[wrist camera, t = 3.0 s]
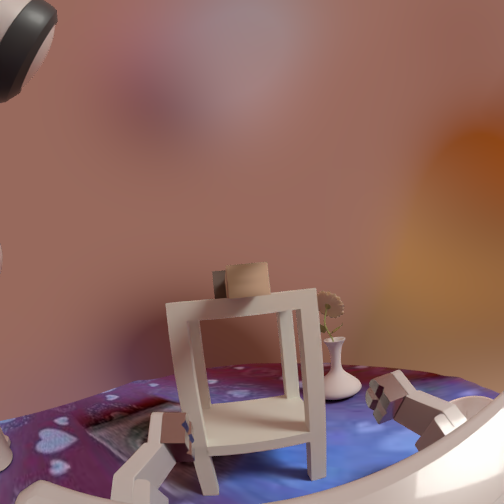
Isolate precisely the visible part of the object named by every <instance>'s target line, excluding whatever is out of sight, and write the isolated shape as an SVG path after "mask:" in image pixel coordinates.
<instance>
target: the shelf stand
mask: <svg viewBox="0 0 504 504" xmlns="http://www.w3.org/2000/svg"><path fill="white" fill-rule="evenodd" d="M292 310H296V317H297V326H298V335H299V346H300V347H299V348H300V358H301V371H302V383H303V397H304V402H303V400H302V399H301V398H300V396H299V383H298V371H297V359H296V348H295V338H294V328H293V318H292ZM166 312H167V321H168V329H169V337H170V345H171V352H172V359H173V366H174V372H175V378H176V384H177V389H178V395H179V400H180V405H181V410H182V412H187V413H188V415H189V421H190V422H192V425H193V429H194V442H193V443H192V444H193V447H194V449H195V461H194V465H195V469H196V472H197V476H198V479H199V483H200V486H201V489H202V492H203V496H205V495H219V485H218V481H217V477H216V473H215V469H214V465H213V461H212V456H221V455H233V454H243V453H251V452H259V451H266V450H272V449H278V448H283V447H288V446H293V445H298V444H303V443H306V449H307V474H308V475H309V477H310V479H311V481H314V480H317V479H321V478H325V477H326V413H325V389H324V372H323V358H322V344H321V332H320V321H319V312H318V302H317V293H316V288H312V289H303V290H294V291H284V292H276V293H271V295H262V296H253V297H243V298H233V299H228V298H222V299H209V300H196V301H184V302H174V303H166ZM274 312H276V313H277V323H278V331H279V332H278V333H279V342H280V351H281V362H282V373H283V383H284V394H285V395H282V396H276V397H270V398H263V399H256V400H248V401H240V402H230V403H219V404H211V401H210V395H209V388H208V382H207V375H206V368H205V361H204V354H203V346H202V339H201V330H200V322H199V320H208V319H220V318H230V317H239V316H249V315H258V314H266V313H274Z"/></svg>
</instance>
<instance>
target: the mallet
mask: <svg viewBox="0 0 504 504" xmlns="http://www.w3.org/2000/svg"><path fill="white" fill-rule="evenodd" d="M212 273H213V284H214V294H215V299H222V298H228V299H233V298H243V297H253V296H262V295H271V292H270V283H269V274H268V265H267V262H260V263H251V264H250V263H249V264H239V265H230V266H229V265H228V266H226V270H225V271H214V272H212Z"/></svg>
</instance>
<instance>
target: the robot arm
mask: <svg viewBox="0 0 504 504" xmlns="http://www.w3.org/2000/svg"><path fill="white" fill-rule="evenodd" d="M56 23H57V10H56V9H55V8H54V7H53V6H51V5H50V4H49V3H47V2H46V1H44V0H0V103H2V102H6V101H8V100H9V99H11V98H13V97H14V96H16V95H17V94H19V93H20V91H21V89H22V88H23V87H24V86H25V85H26V84H27V83H28V82H29V80H30V79H31V78H32V77H33V76H34V74H35V73H36V72H37V71H38V69H39V67H40V66H41V64H42V63H43V61H44V59H45V57H46V55H47V53H48V51H49V48H50V46H51V43H52V39H53V35H54V29H55V25H56ZM1 269H2V249H1V244H0V272H1ZM369 385H370V388H369V389H368V390H367V392H366V395H365V397H366V403H367V405H368V407H369V408H370V409H372V410H374V412H373V415H374V417H375V419H376V421H377V422H378V424H381V423H384V422H386V421H389V420H392V419H393V420H395V421H397V422H398V423H400V424H402V425H403V426H405V427H407V428H408V429H410V430H412V431H413V432H415V433H417V434H418V435H420V436H421V437H420V438H419V439H418V440H417V442H416V444H415V446H416V447H417V449H418V451H419V452H417V453H415V454H413V455H411V456H410V457H408V458H406V459H404V460H402V461H400V462H398V463H395V464H393V465H391V466H389V467H387V468H385V469H382V470H380V471H378V472H375V473H373V474H371V475H368V476H366V477H363V478H360V479H358V480H355V481H352V482H349V483H346V484H344V485H340V486H337V487H334V488H331V489H328V490H324V491H321V492H317V493H313V494H309V495H305V496H301V497H297V498H292V499H287V500H282V501H277V502H271V503H264V504H504V391H503V392H502V393H501V394H499V395H498V396H497V397H496V398H495V399H494V400H493V401H491V402H490V403H489V404H488V405H487V406H485V407H484V408H483V409H482V410H481V411H479V412H478V413H477V414H475V415H474V416H473V417H471V418H470V419H469V420H467V419H466V418H465V417H464V415H463V414H462V413H461V412H460V410H459V409H458V408H457V406H456V405H455V404H452V403H450V402H447V401H445V400H442V399H439V398H437V397H434V396H432V395H429V394H427V393H424V392H422V391H420V390H418V391H416V390H415V388H414V387H413V386H412V384H411V383H410V382H409V381H408V379H407V378H406V377H405V375H404V374H403V373H402V372H401V371H400V370H397V371H394V372H391V373H388V374H385V375H382V376H380V377H377V378H374V379H372V380H371V381H370V383H369ZM193 442H194V429H193V425H192V422H190V421H189V415H188V413H187V412H152V414H151V417H150V425H149V433H148V442H147V443H144V444H143V445H142V446H141V447H140V448H139V449H138V450H137V451H136V452H135V453H134V454H133V455H132V456H131V457H130V458H129V460H128V461H127V462H126V463H125V464H124V465H123V466H122V467H121V468H120V469H119V470H118V471H117V472H116V473H115V474H114V476H113V484H112V491H111V500H110V499H105V498H101V497H96V496H92V495H88V494H85V493H81V492H77V491H74V490H71V489H68V488H65V487H62V486H59V485H56V484H53V483H50V482H48V481H44V480H39V481H37V482H35V483H33V484H32V485H30V486H29V487H27V488H26V489H25V490H23V491H22V492H20V493H19V495H18V497H17V499H16V502H15V504H168V498H167V497H166V496H164V495H163V494H162V493H161V492H160V491H159V490H158V488H159V487H160V485H161V484H162V483H163V481H164V480H165V478H166V477H167V475H168V474H169V472H170V471H171V470H172V468H173V467H174V465H175V464H176V462H191V461H195V449H194V447H193V444H192V443H193ZM10 443H11V442H10V439H9V437H8V436H6V435H4V434H3V432H2V429H1V427H0V471H2V470H3V469H5V468H6V467H7V466H8V465H9V464H10V463H11V461H12V457H13V455H12V451H11V449H10Z"/></svg>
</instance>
